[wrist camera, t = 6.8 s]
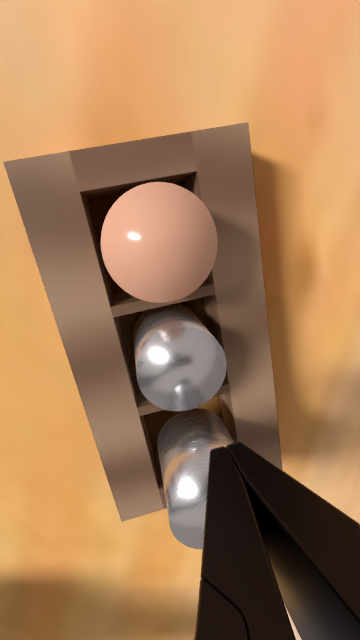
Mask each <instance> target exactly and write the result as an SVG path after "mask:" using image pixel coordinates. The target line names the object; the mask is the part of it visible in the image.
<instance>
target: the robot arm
mask: <svg viewBox="0 0 360 640" xmlns="http://www.w3.org/2000/svg"><path fill="white" fill-rule="evenodd" d="M284 604H285V605H284ZM285 606H286V608H287V610H288V612H289V614H290V616H291V618H292V620H293V623H294V625H295V626H296V629H297V631H298V633H299V635H300V637H301V639H302V640H360V524H359V523H357V522H356V521H355V520H353V519H352V518H350V517H349V516H347V515H346V514H344V513H343V512H342V511H340V510H339V509H337V508H336V507H334V506H333V505H331V504H330V503H329V502H327V501H326V500H324V499H323V498H321V497H320V496H318V495H317V494H316V493H314V492H313V491H311V490H310V489H308V488H307V487H305V486H304V485H303V484H301V483H300V482H298V481H297V480H295V479H294V478H292V477H291V476H290V475H288V474H287V473H285V472H284V471H282V470H281V469H279V468H278V467H277V466H275V465H274V464H272V463H271V462H269V461H268V460H266V459H265V458H264V457H262V456H261V455H259V454H258V453H256V452H255V451H253V450H252V449H250V448H249V447H248V446H246V445H245V444H243V443H242V442H235V443H232V444H228V445H227V446H226V447H224V446H221V447H218V448H214V449H211V451H210V458H209V472H208V485H207V498H206V512H205V525H204V539H203V552H202V566H201V580H200V589H199V602H198V612H197V621H196V631H195V638H194V640H296V639H295V636H294V633H293V630H292V627H291V624H290V621H289V618H288V614H287V611H286V608H285Z"/></svg>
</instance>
